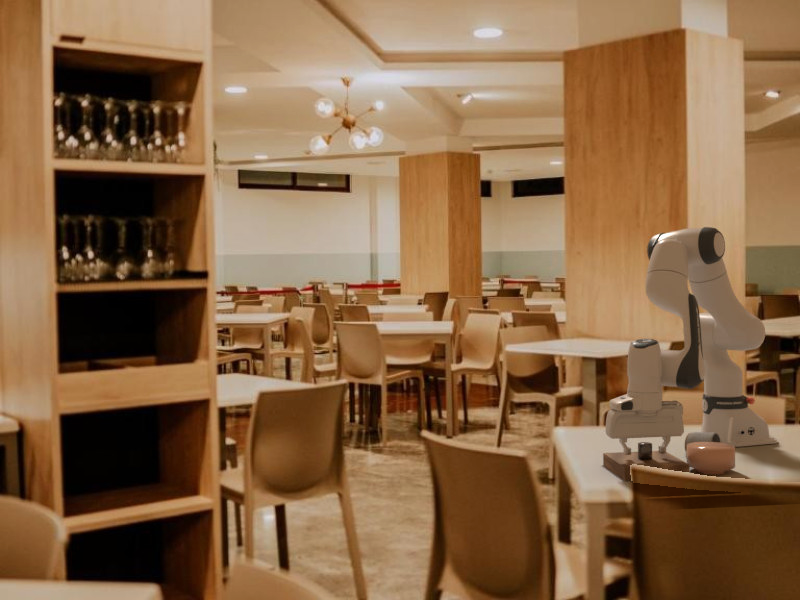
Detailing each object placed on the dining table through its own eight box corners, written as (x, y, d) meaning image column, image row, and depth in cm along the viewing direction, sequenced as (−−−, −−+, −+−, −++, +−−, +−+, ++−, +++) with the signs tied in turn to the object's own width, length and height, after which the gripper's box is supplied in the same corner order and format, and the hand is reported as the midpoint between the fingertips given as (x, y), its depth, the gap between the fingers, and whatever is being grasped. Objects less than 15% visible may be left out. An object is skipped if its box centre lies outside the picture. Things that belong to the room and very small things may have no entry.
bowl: (722, 466, 249) (722, 441, 249) (743, 477, 238) (743, 450, 237) (679, 468, 248) (679, 442, 248) (698, 479, 236) (698, 452, 236)
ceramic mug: (693, 454, 265) (693, 427, 265) (721, 457, 260) (721, 430, 260) (678, 461, 257) (678, 434, 257) (707, 465, 252) (707, 437, 251)
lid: (664, 463, 252) (664, 436, 252) (689, 478, 236) (689, 449, 235) (603, 465, 251) (603, 438, 250) (624, 481, 234) (624, 451, 234)
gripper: (678, 398, 246) (678, 450, 247) (603, 401, 244) (603, 452, 245) (687, 402, 240) (688, 455, 241) (611, 404, 238) (611, 458, 239)
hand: (644, 454), depth 243 cm, fingers open, 8 cm apart
